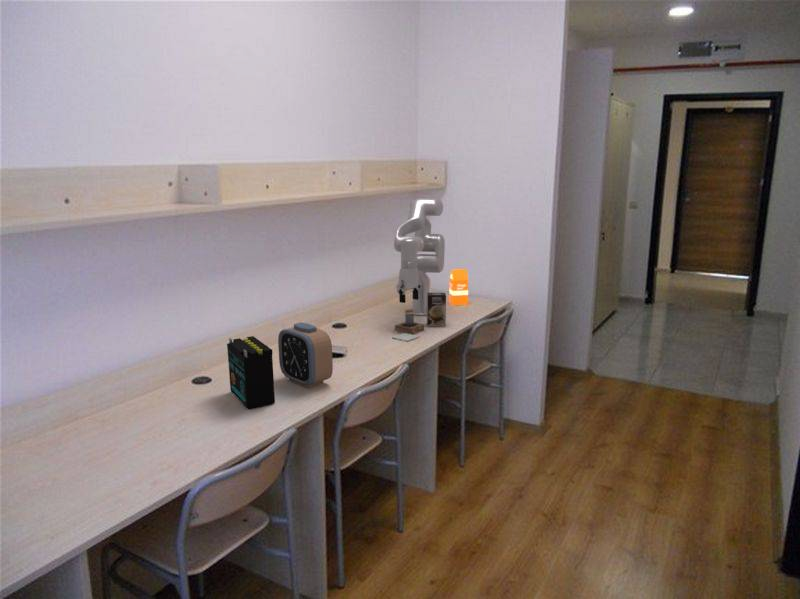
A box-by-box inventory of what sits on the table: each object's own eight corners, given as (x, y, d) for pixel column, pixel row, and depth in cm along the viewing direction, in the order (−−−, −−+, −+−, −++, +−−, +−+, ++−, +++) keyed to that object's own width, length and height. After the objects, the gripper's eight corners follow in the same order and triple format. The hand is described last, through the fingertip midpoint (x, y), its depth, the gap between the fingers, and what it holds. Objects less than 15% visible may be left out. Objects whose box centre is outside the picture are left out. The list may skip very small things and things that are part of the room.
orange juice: (449, 303, 349) (449, 268, 344) (464, 302, 350) (464, 267, 346) (452, 306, 341) (453, 270, 337) (468, 305, 343) (468, 270, 338)
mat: (404, 334, 288) (404, 332, 288) (419, 337, 282) (419, 336, 282) (392, 338, 281) (392, 337, 281) (407, 341, 276) (407, 340, 275)
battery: (230, 391, 218) (226, 338, 214) (256, 386, 223) (253, 333, 219) (247, 410, 202) (243, 352, 198) (275, 403, 207) (272, 347, 203)
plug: (408, 329, 296) (408, 309, 294) (415, 330, 293) (415, 310, 291) (403, 331, 293) (402, 310, 290) (410, 332, 290) (410, 312, 288)
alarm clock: (279, 378, 231) (276, 323, 226) (300, 372, 238) (297, 318, 233) (312, 392, 217) (309, 333, 212) (333, 385, 223) (331, 328, 219)
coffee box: (427, 327, 299) (427, 295, 295) (426, 323, 305) (426, 292, 302) (446, 327, 299) (446, 294, 296) (444, 323, 306) (444, 291, 302)
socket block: (408, 327, 300) (407, 321, 299) (424, 330, 294) (424, 324, 293) (394, 331, 292) (394, 325, 292) (411, 335, 286) (411, 328, 285)
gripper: (414, 262, 294) (414, 297, 298) (390, 266, 281) (391, 302, 285) (426, 263, 290) (426, 299, 293) (403, 268, 277) (403, 305, 280)
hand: (409, 300), depth 289 cm, fingers open, 9 cm apart
